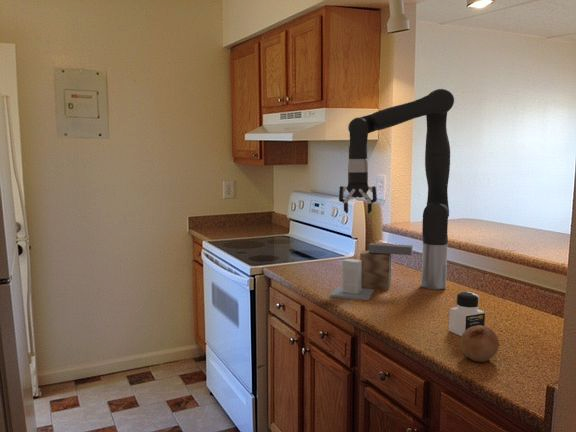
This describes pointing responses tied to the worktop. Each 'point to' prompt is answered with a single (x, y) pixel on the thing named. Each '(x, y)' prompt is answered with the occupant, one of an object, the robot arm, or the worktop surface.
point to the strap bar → (390, 249)
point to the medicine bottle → (465, 313)
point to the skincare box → (352, 276)
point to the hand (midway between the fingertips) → (357, 213)
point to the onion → (479, 343)
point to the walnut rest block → (375, 270)
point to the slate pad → (363, 295)
